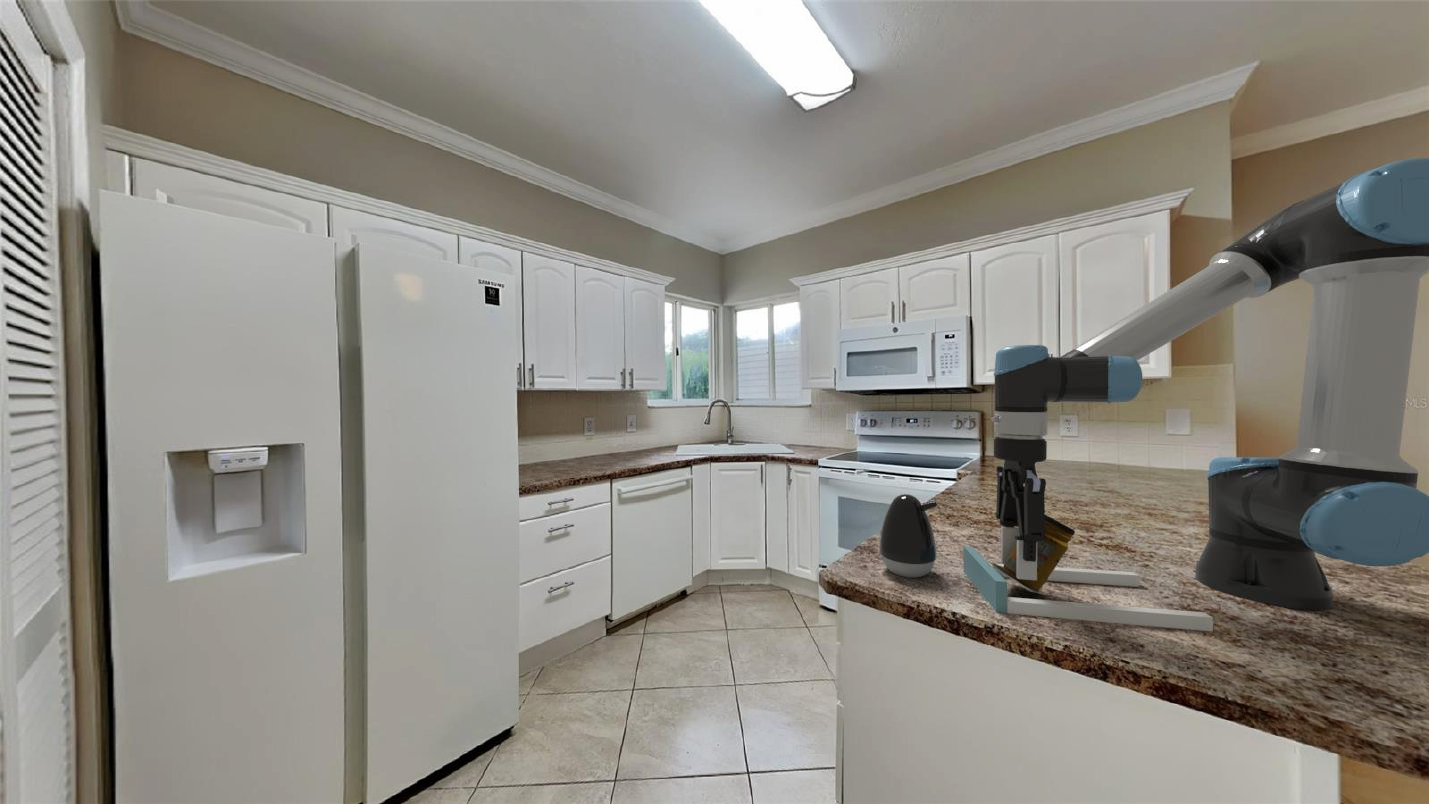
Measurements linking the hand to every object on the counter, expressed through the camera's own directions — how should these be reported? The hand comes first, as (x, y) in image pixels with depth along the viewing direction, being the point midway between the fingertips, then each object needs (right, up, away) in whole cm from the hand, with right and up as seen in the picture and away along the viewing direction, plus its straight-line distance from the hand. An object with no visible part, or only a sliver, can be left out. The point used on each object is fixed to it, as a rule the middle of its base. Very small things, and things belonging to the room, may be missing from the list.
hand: (1017, 570), depth 78 cm
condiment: (-1, -2, 0) cm, 2 cm away
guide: (+8, -4, -2) cm, 9 cm away
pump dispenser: (-15, -4, +10) cm, 18 cm away
